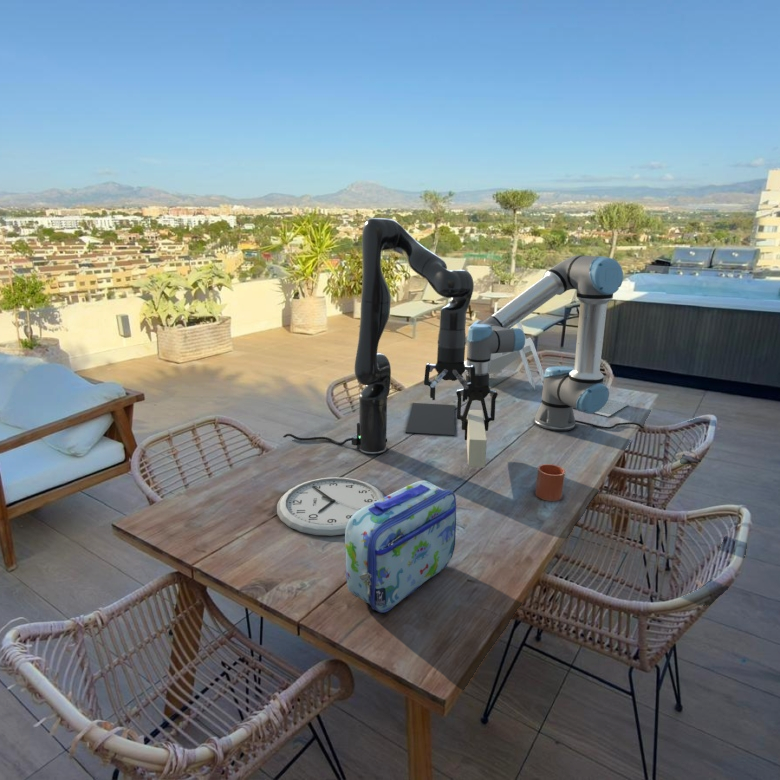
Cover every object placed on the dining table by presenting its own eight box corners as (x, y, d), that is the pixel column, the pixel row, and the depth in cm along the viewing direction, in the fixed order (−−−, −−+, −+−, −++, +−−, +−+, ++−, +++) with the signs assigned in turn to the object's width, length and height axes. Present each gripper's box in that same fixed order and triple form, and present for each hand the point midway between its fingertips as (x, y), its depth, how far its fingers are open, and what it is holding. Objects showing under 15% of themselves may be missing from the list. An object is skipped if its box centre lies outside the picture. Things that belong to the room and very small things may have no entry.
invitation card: (608, 416, 214) (573, 407, 224) (608, 416, 214) (573, 407, 224) (627, 404, 229) (594, 396, 238) (627, 405, 229) (594, 397, 239)
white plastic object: (482, 418, 267) (461, 395, 242) (463, 346, 289) (443, 318, 265) (552, 394, 255) (538, 367, 230) (527, 321, 277) (512, 289, 252)
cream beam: (481, 434, 181) (482, 410, 178) (485, 467, 156) (486, 440, 153) (466, 433, 181) (467, 409, 178) (468, 467, 157) (469, 439, 154)
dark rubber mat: (454, 406, 224) (454, 405, 224) (454, 436, 192) (454, 435, 192) (412, 403, 226) (412, 402, 226) (405, 433, 194) (405, 432, 194)
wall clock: (392, 527, 129) (269, 531, 127) (392, 533, 130) (269, 537, 127) (383, 473, 158) (282, 475, 155) (383, 478, 158) (283, 480, 156)
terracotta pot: (559, 489, 154) (562, 464, 151) (564, 502, 147) (567, 476, 144) (533, 487, 154) (536, 463, 152) (537, 500, 147) (540, 474, 145)
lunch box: (374, 626, 100) (375, 530, 93) (338, 598, 107) (337, 508, 101) (459, 568, 117) (465, 484, 111) (424, 547, 124) (427, 467, 118)
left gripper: (477, 342, 147) (473, 397, 152) (426, 340, 148) (424, 394, 153) (478, 348, 140) (474, 405, 145) (424, 346, 141) (422, 403, 146)
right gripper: (505, 370, 172) (500, 435, 179) (449, 368, 174) (447, 433, 181) (507, 376, 164) (502, 444, 172) (449, 374, 166) (447, 442, 174)
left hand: (448, 400), depth 149 cm, fingers open, 8 cm apart
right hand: (474, 438), depth 176 cm, fingers closed on cream beam, 5 cm apart
